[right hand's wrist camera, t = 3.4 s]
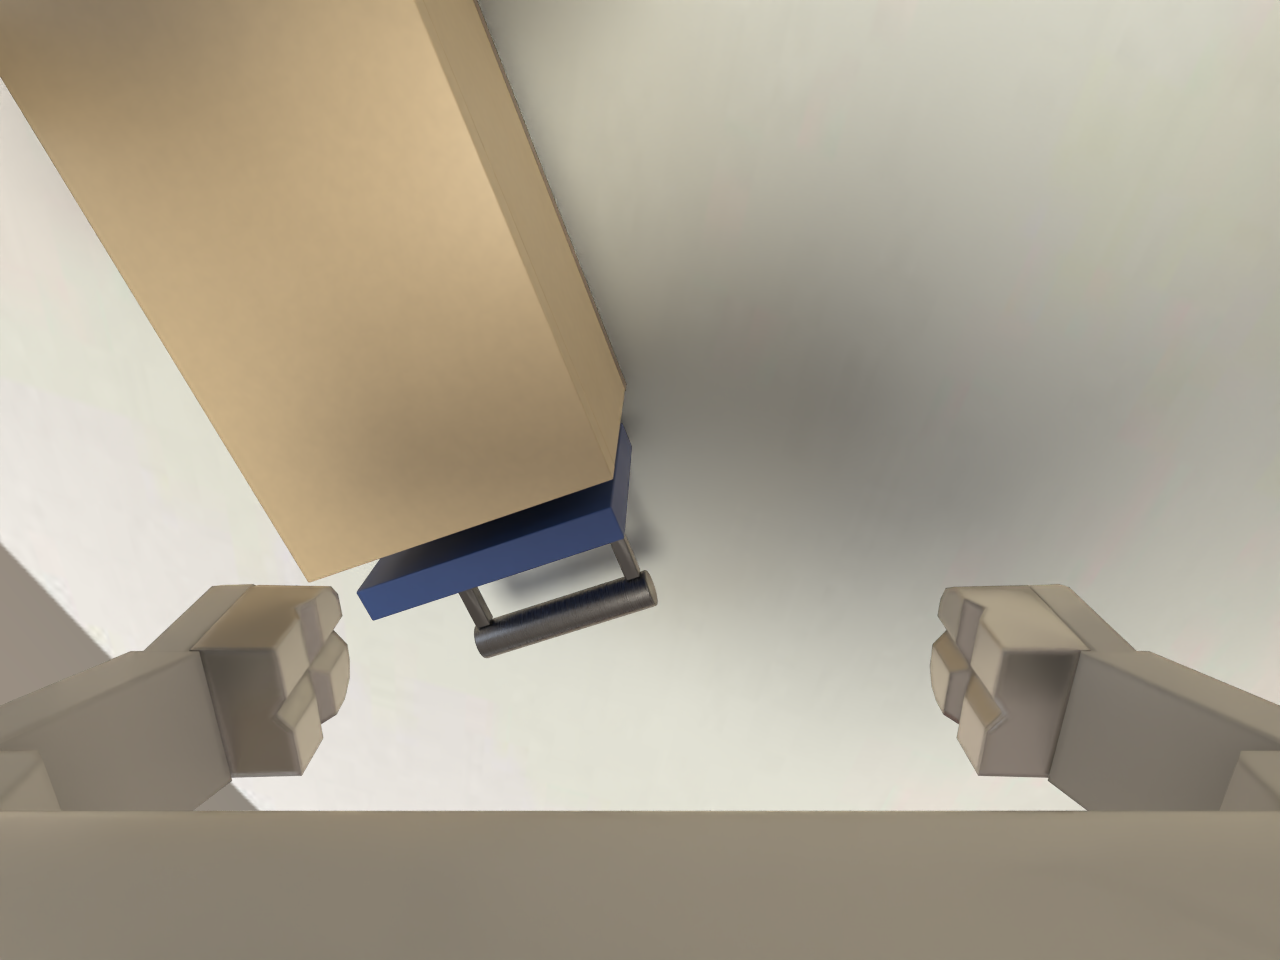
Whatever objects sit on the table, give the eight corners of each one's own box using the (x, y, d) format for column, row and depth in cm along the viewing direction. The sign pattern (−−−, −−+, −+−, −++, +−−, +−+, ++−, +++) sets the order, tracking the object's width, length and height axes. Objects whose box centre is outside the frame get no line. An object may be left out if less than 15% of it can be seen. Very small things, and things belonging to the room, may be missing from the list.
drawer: (674, 552, 34) (680, 670, 26) (490, 611, 35) (442, 741, 27) (418, -91, 25) (307, -213, 17) (185, 20, 26) (-19, -45, 18)
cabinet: (626, 384, 32) (614, 480, 22) (409, 462, 34) (308, 583, 24) (391, -219, 25) (215, -480, 15) (126, -85, 26) (-194, -239, 16)
